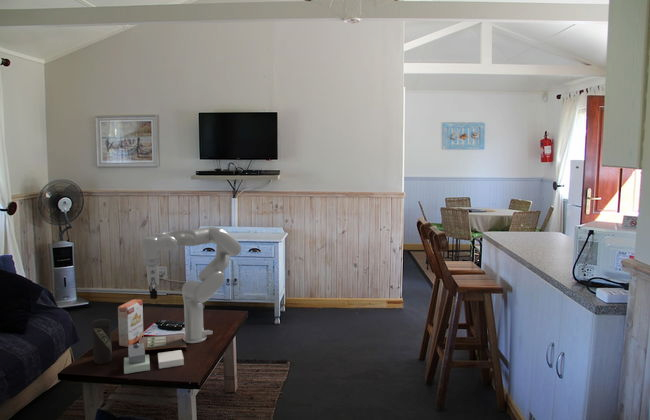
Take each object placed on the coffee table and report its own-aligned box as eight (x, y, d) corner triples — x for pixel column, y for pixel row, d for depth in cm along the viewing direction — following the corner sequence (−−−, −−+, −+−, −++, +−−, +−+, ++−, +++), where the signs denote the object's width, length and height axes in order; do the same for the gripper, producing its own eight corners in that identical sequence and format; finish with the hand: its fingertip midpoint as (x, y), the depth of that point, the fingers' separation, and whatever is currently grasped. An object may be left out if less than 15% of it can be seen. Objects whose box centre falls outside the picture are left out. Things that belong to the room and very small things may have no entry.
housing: (144, 357, 235) (144, 340, 234) (145, 361, 230) (144, 345, 229) (128, 359, 233) (128, 343, 232) (128, 364, 228) (128, 347, 227)
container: (100, 366, 232) (98, 325, 230) (89, 361, 237) (86, 321, 234) (117, 359, 239) (114, 319, 237) (105, 355, 244) (103, 316, 242)
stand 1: (149, 360, 239) (148, 354, 238) (150, 370, 229) (149, 363, 228) (124, 363, 235) (124, 357, 234) (124, 373, 225) (123, 367, 224)
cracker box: (129, 347, 254) (127, 307, 251) (118, 346, 255) (116, 306, 252) (144, 337, 268) (142, 299, 265) (134, 336, 269) (132, 298, 266)
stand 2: (181, 355, 244) (181, 349, 244) (183, 364, 234) (183, 358, 234) (157, 359, 240) (157, 353, 240) (159, 368, 230) (158, 362, 230)
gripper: (161, 265, 238) (162, 299, 240) (158, 257, 254) (160, 290, 256) (144, 266, 235) (145, 301, 238) (143, 258, 251) (144, 291, 254)
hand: (153, 295), depth 247 cm, fingers open, 9 cm apart
